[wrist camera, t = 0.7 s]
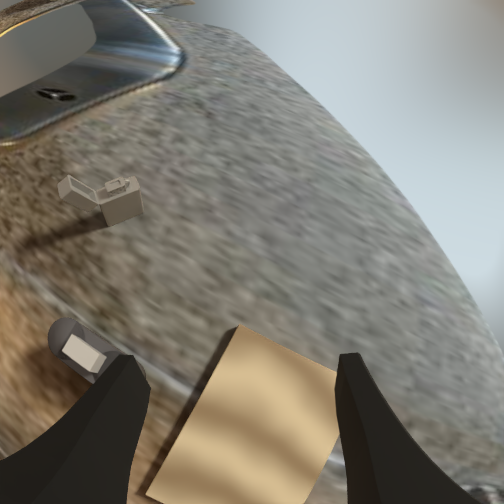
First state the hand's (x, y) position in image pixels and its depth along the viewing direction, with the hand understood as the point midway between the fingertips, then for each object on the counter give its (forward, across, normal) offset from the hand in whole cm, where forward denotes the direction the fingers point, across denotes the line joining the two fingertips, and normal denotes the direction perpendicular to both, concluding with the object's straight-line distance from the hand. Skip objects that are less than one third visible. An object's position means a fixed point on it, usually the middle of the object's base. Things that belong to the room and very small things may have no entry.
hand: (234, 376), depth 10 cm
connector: (+9, +14, +11) cm, 20 cm away
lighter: (+20, +15, +2) cm, 26 cm away
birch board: (+6, +1, +18) cm, 19 cm away
